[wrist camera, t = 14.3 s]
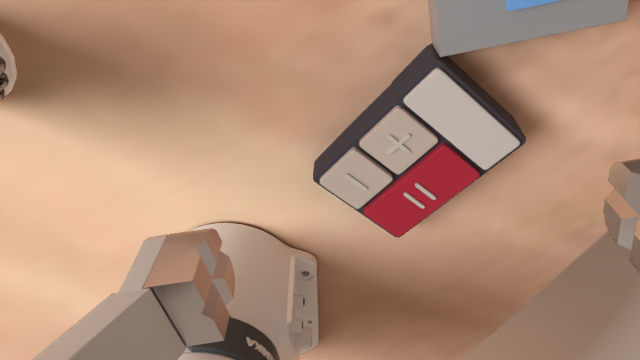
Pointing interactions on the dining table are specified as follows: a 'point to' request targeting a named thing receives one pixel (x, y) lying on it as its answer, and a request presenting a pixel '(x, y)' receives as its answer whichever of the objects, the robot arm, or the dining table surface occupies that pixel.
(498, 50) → the dining table surface
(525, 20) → the chassis deck
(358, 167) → the calculator
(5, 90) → the white patterned cylinder
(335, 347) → the dining table surface
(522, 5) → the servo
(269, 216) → the dining table surface
